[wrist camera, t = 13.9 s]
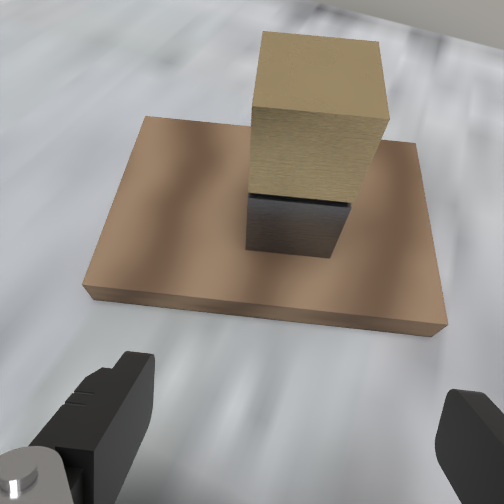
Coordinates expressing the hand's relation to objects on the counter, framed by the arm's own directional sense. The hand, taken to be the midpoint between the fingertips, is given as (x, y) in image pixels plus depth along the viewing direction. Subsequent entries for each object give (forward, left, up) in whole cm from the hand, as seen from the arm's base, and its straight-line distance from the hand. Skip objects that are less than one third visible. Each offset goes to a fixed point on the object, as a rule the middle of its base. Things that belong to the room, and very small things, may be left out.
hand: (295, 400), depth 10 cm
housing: (0, +12, -8) cm, 15 cm away
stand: (-1, +13, -10) cm, 17 cm away
